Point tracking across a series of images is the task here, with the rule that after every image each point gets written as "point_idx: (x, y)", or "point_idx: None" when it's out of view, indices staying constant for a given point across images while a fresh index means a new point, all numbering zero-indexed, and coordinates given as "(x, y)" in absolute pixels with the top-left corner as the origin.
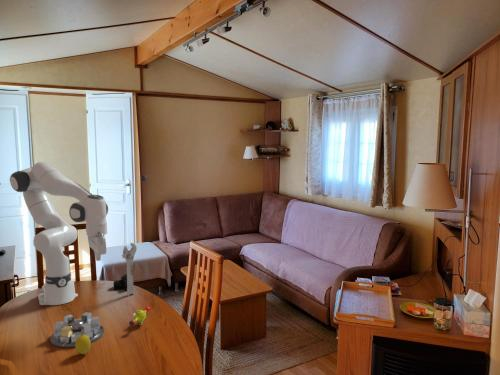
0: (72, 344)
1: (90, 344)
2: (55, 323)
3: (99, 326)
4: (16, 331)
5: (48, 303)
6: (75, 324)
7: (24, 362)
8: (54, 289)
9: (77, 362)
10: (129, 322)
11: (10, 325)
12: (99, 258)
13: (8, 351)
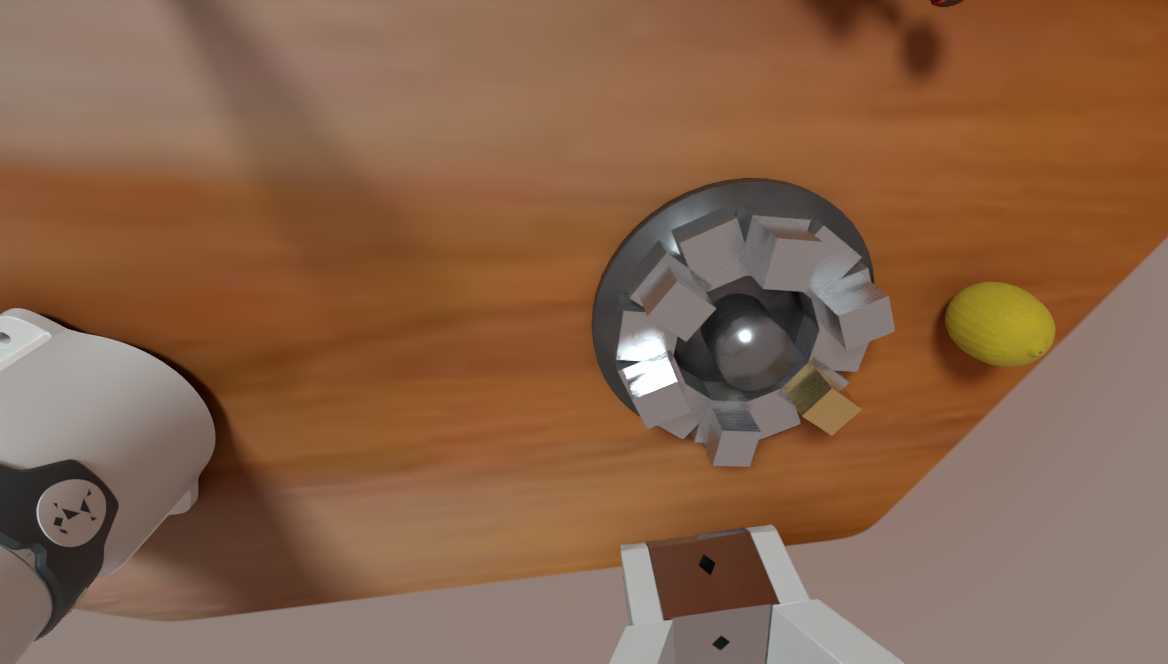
0: None
1: (1017, 287)
2: (730, 463)
3: (807, 220)
4: (522, 547)
5: (197, 474)
6: (785, 368)
7: (849, 493)
8: (130, 516)
9: None
10: (953, 3)
11: (437, 573)
12: (787, 575)
13: None
